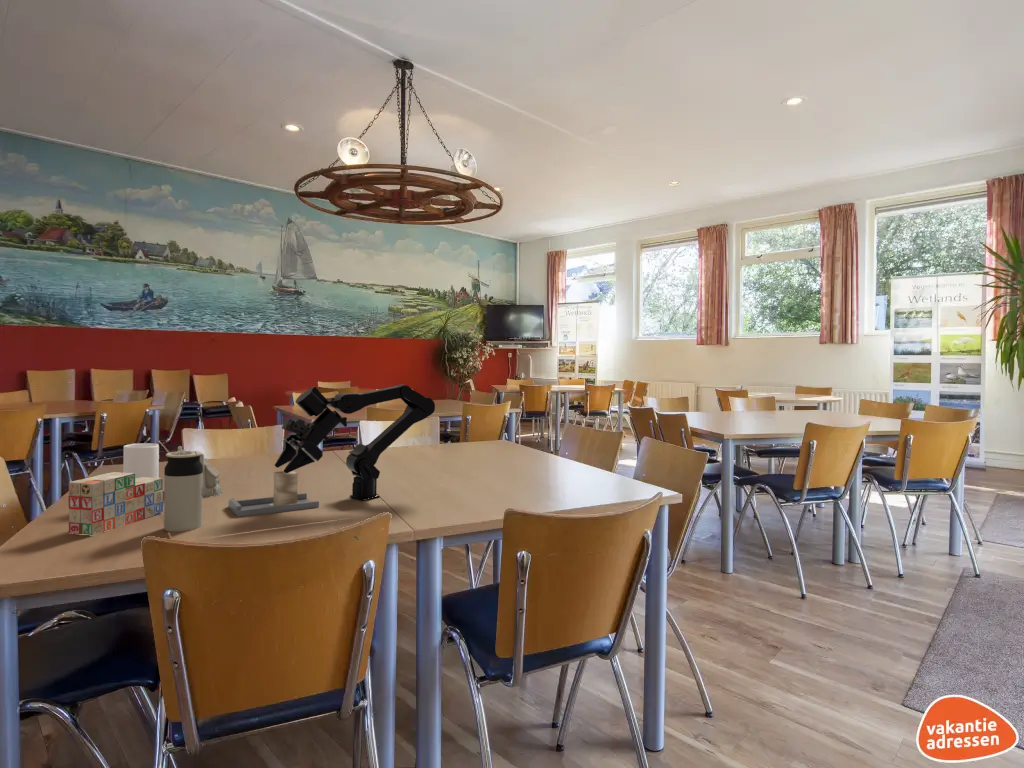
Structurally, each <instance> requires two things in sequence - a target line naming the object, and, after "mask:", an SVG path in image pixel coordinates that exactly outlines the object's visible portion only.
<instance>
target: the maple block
mask: <svg viewBox="0 0 1024 768" xmlns="http://www.w3.org/2000/svg"><path fill="white" fill-rule="evenodd" d="M298 474H299V473H298V472H296V471H295V470H293V471H291V472H289V473H285V472H284V470H283V471H282V470H281V471H274V472H273V496H274V505H275V506H277V505H286V504H294V503H297V494H298V481H299V480H298V478H299V477H298V476H299V475H298Z"/></svg>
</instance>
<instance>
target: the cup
mask: <svg viewBox="0 0 1024 768" xmlns="http://www.w3.org/2000/svg"><path fill="white" fill-rule="evenodd" d="M159 448H160V445H159V444H158V443H155V442H153V443H152V442H150V443H149V442H145V443H143V442H142V443H130V444H126V445H123V464H122V465H123V472H122V473H135V479H136V478H140V477H149V478H160V477H159V475H160V474H159V473H160V471H159V469H160V468H159V466H160V465H159V464H160V463H159V461H160V459H159V456H160V454H159V453H160V452H159V450H160V449H159Z"/></svg>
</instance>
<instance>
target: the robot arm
mask: <svg viewBox="0 0 1024 768" xmlns="http://www.w3.org/2000/svg"><path fill="white" fill-rule="evenodd" d="M398 399H400V400H402V402H404V404H405V405H406V407H405V409H404V411H403V413H402V414H401V415H400V416H398V418H397V419H395V420H394V421H393V422H392V423H391V424H390V425H389V426H387V427H386V428H385V429H384V430H383V431H382V432H381V433H380V434H378V436H376V437H375V438H374V439H373V440H372V441H371V442H369V443H368V444H366V445H365V444H363V443H358V444H357V445H356V446H355V447H354V448H353V449H352V450H350V451H349V452H348V453H349V454H348V455H347V457H346V461H345V464H346V467H347V469H348V470H350V472H351V473H352V474H351V475H352V476H354V477H353V482H352V490H351V491H352V492H351V493H352V494H351V495H350V494H349V498H352V497H353V499H356V498H357V500H360V499H362V500H361V501H364V500H363V499H367V500H369V499H368V498H372V497H375V496H376V495H378V494H377V488H378V487H377V481H378V480H377V479H379V477H380V473H381V471H380V470H379V469H378V468H377V467H376V466H375V465H376V464H377V462H378V460H379V458H380V455H381V454H383V452H385V451H386V450H387V449H388V448H389V447H390V446H391V445H392V444H394V443H395V441H396V440H398V439H399V438H400V437H401V436H402V435H403V434H405V432H406V431H408V429H410V428H411V427H412V426H413V425H415V424H417V423H418V422H421V421H423V420H425V419H427V418H428V417H430V416H432V415H433V413H434V412H435V411H436V404H435V401H434V400H433V399H432V398H430V397H425V396H424V395H422V394H421V393H419V392H418V391H416V390H414V389H412V387H410V386H409V385H407V384H397V385H394V386H390V387H386V388H384V387H383V388H380V389H374V390H370V391H365V392H339V393H337V394H336V395H335V396H334V397H329V398H328V397H325V395H323V394H322V393H321V391H320V389H318V388H317V386H312V387H310V388H309V389H307V390H305V391H304V392H303V393H301V394H299V396H298V397H297V398H296V399H295V404H296V405H297V406H299V408H300V409H302V411H304V413H306V414H307V415H308V416H309V417H312V416H313V417H316V418H315V419H314V420H313V421H312V422H307V423H306V422H305V420H303V419H300V418H297V419H296V420H293V419H290V418H288V417H286V418H285V421H284V422H283V425H282V427H281V429H282V430H285V431H287V432H289V433H287V434H285V436H284V437H283V440H282V441H283V450H282V451H281V454H279V457H278V459H277V460H276V462H275V464H274V466H275V468H280V467H282V466H283V465H285V464H286V466H285V468H284V469H283V471H284V472H285V473H289V472H291V471H295V470H298V469H300V468H303V467H306V466H307V465H309V464H312V463H315V462H319V461H320V459H321V458H322V457H323V453H324V452H323V450H322V449H321V448H320V447H319V445H320V444H321V443H322V442H323V441H327V440H328V439H329V434H331V433H332V432H333V431H334V430H335V429H336V428H337V427H338V426H341V427H344V428H347V426H348V422H347V420H348V417H346V416H342V415H341V414H340V413H342V414H346V415H349V414H351V415H352V414H353V413H356V412H358V411H361V410H362V409H364V408H365V407H368V406H371V405H376V404H380V403H385V402H389V401H393V400H394V401H395V400H398ZM329 407H330V408H334V410H333V411H332V410H331V409H330V408H329ZM290 432H291V433H290ZM287 463H288V464H287ZM372 499H373V498H372Z"/></svg>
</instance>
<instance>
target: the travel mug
mask: <svg viewBox="0 0 1024 768" xmlns="http://www.w3.org/2000/svg"><path fill="white" fill-rule="evenodd" d="M201 454H203V452H202V451H199V450H185V451H178V450H177V451H171V452H167V453H166V454H165V457H166V458H167V463H166V465H165V466H164V474H163V475H164V480H163V481H164V483H163V484H164V487H163V488H164V489H163V520H164V521H163V522H164V523H163V528H164V530H165V531H167V532H186V531H192V530H196V529H199V528H201V527H202V526H203V510H204V509H203V506H204V505H203V501H204V500H203V465H202V464H201V462H200V456H201Z"/></svg>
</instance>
